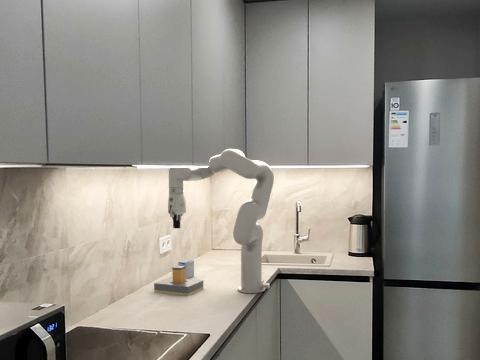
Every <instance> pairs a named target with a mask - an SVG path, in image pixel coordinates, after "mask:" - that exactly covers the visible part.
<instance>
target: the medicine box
mask: <svg viewBox="0 0 480 360" xmlns="http://www.w3.org/2000/svg"><path fill="white" fill-rule="evenodd" d="M177 264H178V265H177V266H186V279H191V278H194V277H193V276H195V261H194V260H192V259H184V260H181V261H179V262H178V263H177Z"/></svg>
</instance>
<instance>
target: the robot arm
mask: <svg viewBox="0 0 480 360" xmlns="http://www.w3.org/2000/svg"><path fill="white" fill-rule="evenodd" d="M209 165H210V166H209V167H208V168H170V169H169V168H168V200H167V213H168V214H169V217H170V218H172V228H173V229H181V220H182V217H183V216H184V214H186V212H187V204H186V202H187V201H186V196H185V182H197V181H201V180H205V179H208V178H210V177H213V176H216V175H218V174H221V173H225V172H227V171H231V172H233V173H235V174H237V175H238V176H240V177H242V178H243V179H246V180H255V184H254V186H253V188H252V190H251V191H252V192H251V194H250V198H249V200H246V201H244V202H243V203H242V204H241V205H240V207H239V208H238V212H237V215H236V218H235V223H234V226H233V229H232V231H233V233H232V235H233V239H234V241H235V242H236V244H238V245H240V246H241V247H240V285H239V286H237V291H238V292H239V293H245V294H259V293H263V292H265V291H266V289H270V288H271V284H270V283H269V282H268V283H265V282H264V281H265V280H264V279H263V278H262V277H263V276H262V273H263V272H262V269H263V267H262V264H263V263H262V256H263V255H262V252H263V251H262V248H263V247H262V246H263V238H264V231H263V228H262V226H261V225H260V224H259V223H258V221H260V220H262V219H264V218H265V216H266V215H267V211H268V210H267V209H268V206H269V204H270V203H269V202H270V199H271V198H270V197H271V193H272V190H273V188H274V187H273V186H274V183H275V180H274V179H275V177H274V172H273V170H272V168H271V167H270V165H268V164H267V163H266V162H264V161H261V160H255V159H254V160H253V159H249V158H247V157H246V155H245V153H244V152H243V151H242V150H240V149H237V148H227V149H224V150H223V151H222V152H221V153H219V154H216V155H214V156H211V157H210V158H209Z"/></svg>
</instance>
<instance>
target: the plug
mask: <svg viewBox="0 0 480 360" xmlns="http://www.w3.org/2000/svg"><path fill="white" fill-rule="evenodd" d="M171 268H172V273H171V274H172V275H171V277H173V283H178V284H182V283H184V282H186V266H178V265H175V266H173V267H171Z"/></svg>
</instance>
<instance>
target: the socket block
mask: <svg viewBox="0 0 480 360" xmlns="http://www.w3.org/2000/svg"><path fill="white" fill-rule="evenodd" d="M153 286H154V287H153V288H154V289H153V291H154V293H160V294H170V295H176V296H178V295H179V296H191V295H193V294H196V293H198V292H199V290H200V291H202V290H204V279H195V278H194V279H193V278H187V279H186V282H184V283H182V284H178V283H173V277H172V276H169V277H167V278H165V279H162V280H159V281H157V282H153ZM197 291H198V292H197Z"/></svg>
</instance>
